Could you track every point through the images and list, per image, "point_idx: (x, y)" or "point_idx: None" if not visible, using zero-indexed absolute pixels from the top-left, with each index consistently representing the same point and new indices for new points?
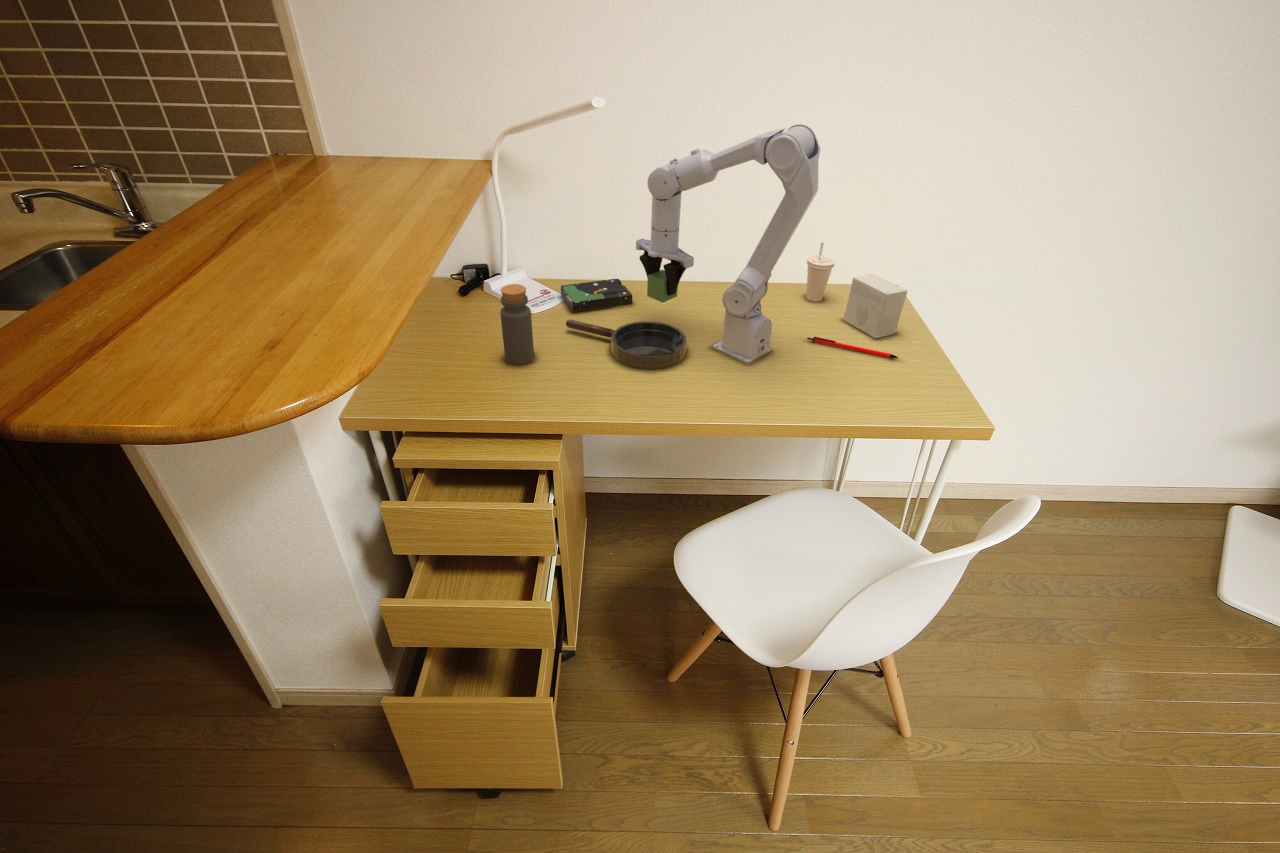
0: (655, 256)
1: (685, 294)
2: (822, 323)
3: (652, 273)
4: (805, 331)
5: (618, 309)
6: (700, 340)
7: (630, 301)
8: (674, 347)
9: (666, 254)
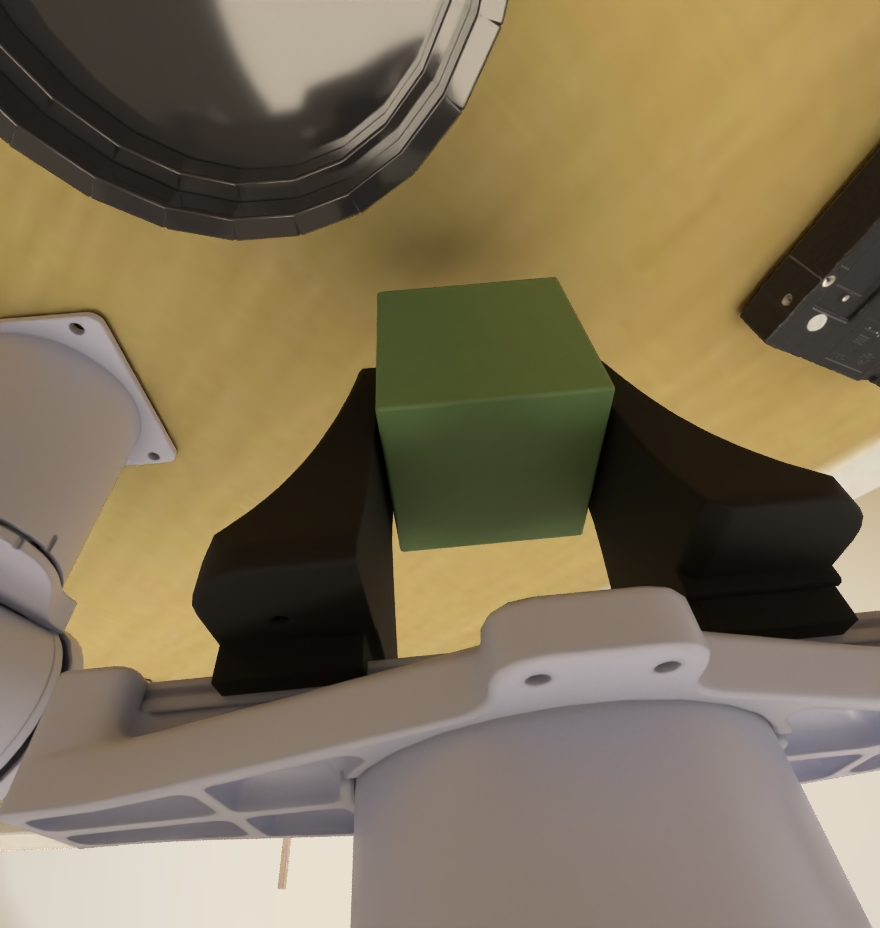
0: (486, 632)
1: (585, 519)
2: (155, 649)
3: (600, 441)
4: (121, 606)
5: (781, 215)
6: (208, 319)
7: (752, 313)
8: (169, 122)
9: (352, 752)
